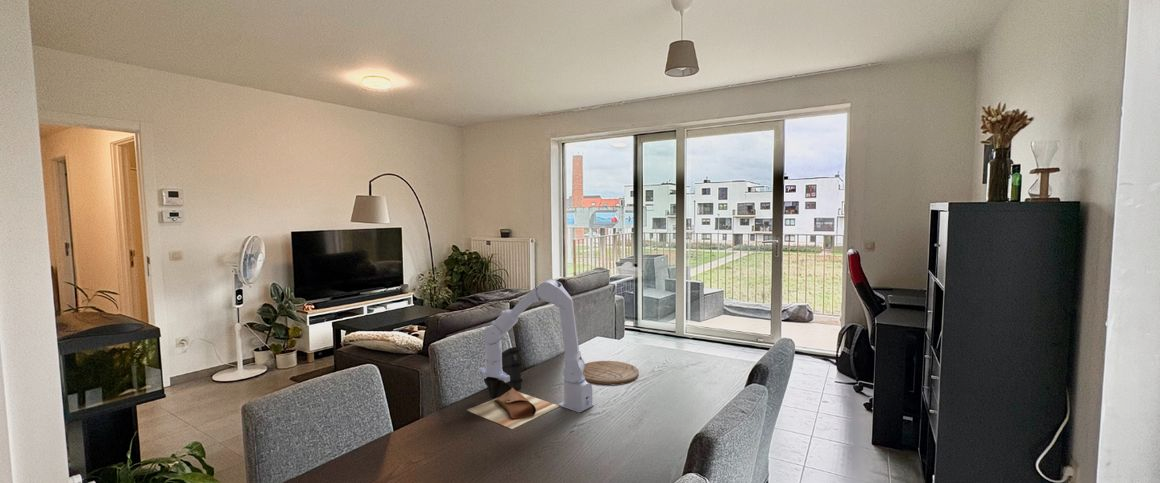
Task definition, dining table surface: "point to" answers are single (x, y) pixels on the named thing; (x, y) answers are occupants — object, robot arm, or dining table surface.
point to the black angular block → (512, 367)
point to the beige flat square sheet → (501, 417)
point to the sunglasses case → (516, 404)
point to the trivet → (609, 372)
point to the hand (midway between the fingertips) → (494, 397)
